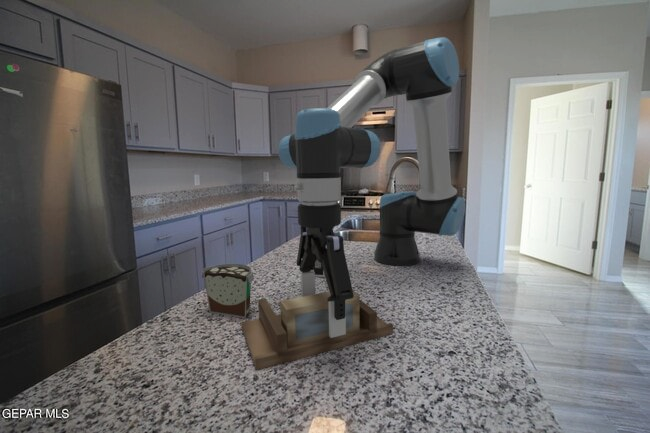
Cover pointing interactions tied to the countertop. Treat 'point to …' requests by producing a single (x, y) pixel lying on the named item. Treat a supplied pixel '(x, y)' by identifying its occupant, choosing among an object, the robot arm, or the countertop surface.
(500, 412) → the countertop surface
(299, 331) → the tan rectangular block
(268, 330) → the wooden slatted panel
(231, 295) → the food container
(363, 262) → the countertop surface
